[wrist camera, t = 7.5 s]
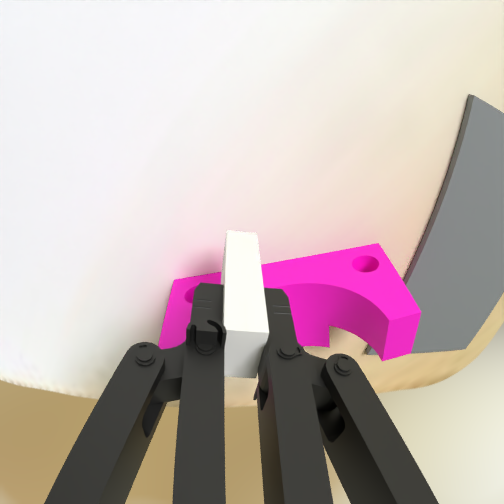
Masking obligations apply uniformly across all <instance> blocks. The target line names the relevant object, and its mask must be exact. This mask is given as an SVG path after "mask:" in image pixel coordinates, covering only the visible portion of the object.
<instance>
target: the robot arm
mask: <svg viewBox="0 0 504 504" xmlns="http://www.w3.org/2000/svg"><path fill="white" fill-rule="evenodd" d="M291 314H292V313H291V308H290V303H289V298H288V296H287V295H286V293H285V292H284V291H283V290H282V289H276V288H264V286H263V278H262V270H261V261H260V253H259V245H258V237H257V233H250V232H241V231H232V230H227V233H226V241H225V249H224V257H223V265H222V273H221V284H212V283H202V282H200V284H199V285H198V286H197V287H196V288H195V290H194V297H193V304H192V311H191V319H190V323H189V324H188V326H187V328H186V340H185V341H184V342H183V343H182V344H180V345H178V346H176V347H173V348H168V349H160V347H159V346H157V345H155V344H153V343H148V342H142V343H137V344H135V345H133V346H131V348H130V349H129V350H128V351H127V352H126V354H125V356H124V357H123V359H122V361H121V362H120V364H119V366H118V367H117V369H116V371H115V372H114V374H113V376H112V378H111V379H110V381H109V383H108V384H107V386H106V388H105V390H104V391H103V393H102V395H101V397H100V398H99V400H98V402H97V404H96V405H95V407H94V409H93V411H92V413H91V415H90V416H89V418H88V420H87V422H86V423H85V425H84V427H83V429H82V431H81V433H80V434H79V436H78V438H77V440H76V442H75V444H74V446H73V448H72V450H71V451H70V453H69V455H68V457H67V459H66V461H65V463H64V465H63V467H62V469H61V471H60V473H59V475H58V477H57V479H56V481H55V483H54V485H53V487H52V489H51V491H50V493H49V495H48V497H47V499H46V501H45V503H44V504H125V502H126V499H127V497H128V495H129V492H130V490H131V487H132V485H133V482H134V480H135V478H136V475H137V473H138V470H139V468H140V465H141V463H142V461H143V458H144V456H145V453H146V451H147V449H148V446H149V444H150V442H151V439H152V437H153V435H154V432H155V430H156V427H157V425H158V423H159V420H160V418H161V416H162V413H163V411H164V409H165V406H166V404H167V402H169V401H174V400H180V405H179V416H178V428H177V440H176V453H175V468H174V485H173V504H226V497H225V441H224V439H225V438H224V376H226V377H243V378H256V376H257V373H258V379H259V382H258V385H257V388H256V391H255V394H254V399H253V400H256V399H257V405H258V420H259V434H260V449H261V463H262V477H263V491H264V504H333V499H332V494H331V488H330V481H329V476H328V470H327V464H326V459H325V453H324V447H325V450H326V452H327V454H328V456H329V458H330V460H331V462H332V465H333V467H334V469H335V471H336V473H337V475H338V477H339V479H340V482H341V484H342V486H343V488H344V490H345V492H346V494H347V496H348V499H349V501H350V503H351V504H439V503H438V501H437V499H436V498H435V496H434V494H433V492H432V491H431V489H430V487H429V485H428V483H427V481H426V479H425V478H424V476H423V474H422V473H421V471H420V469H419V467H418V465H417V463H416V462H415V460H414V458H413V457H412V455H411V453H410V451H409V450H408V448H407V446H406V444H405V442H404V441H403V439H402V437H401V435H400V434H399V432H398V430H397V429H396V427H395V425H394V423H393V422H392V420H391V419H390V417H389V415H388V413H387V412H386V410H385V408H384V407H383V405H382V403H381V402H380V400H379V398H378V396H377V395H376V393H375V391H374V390H373V388H372V386H371V385H370V383H369V381H368V380H367V378H366V376H365V375H364V373H363V372H362V370H361V368H360V367H359V365H358V363H357V362H356V361H355V360H354V359H353V358H351V357H350V356H348V355H345V354H334V355H332V356H330V357H329V358H328V359H327V360H326V359H323V358H319V357H316V356H313V355H310V354H308V353H307V352H305V351H304V349H303V347H302V346H301V345H300V344H299V343H298V341H297V337H296V332H295V327H294V322H293V318H292V315H291ZM323 445H324V447H323Z"/></svg>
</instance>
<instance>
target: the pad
mask: <svg viewBox="0 0 504 504" xmlns="http://www.w3.org/2000/svg"><path fill="white" fill-rule="evenodd" d="M403 282H404V284H405V285H406V287H407V289H408V290H409V292H410V294H411V295H412V297H413V299H414V300H415V302H416V304H417V305H418V307H419V309H420V310H421V316H420V320H419V324H418V328H417V332H416V336H415V340H414V344H413V347H412V351H411V353H425V352H439V351H451V350H462V349H466V347H467V346H468V345H469V343H470V342H471V341H472V339H473V338H474V337H475V335H476V334H477V332H478V331H479V329H480V328H481V327H482V325H483V324H484V322H485V321H486V319H487V318H488V316H489V315H490V313H491V312H492V310H493V309H494V307H495V305H496V304H497V302H498V301H499V299H500V297H501V296H502V294H503V292H504V113H502V112H501V111H499V110H498V109H496V108H494V107H493V106H491V105H489V104H488V103H486V102H484V101H483V100H481V99H479V98H477V97H476V96H474V95H470V94H469V97H468V101H467V105H466V109H465V114H464V118H463V121H462V125H461V129H460V133H459V136H458V140H457V143H456V147H455V150H454V153H453V157H452V160H451V163H450V166H449V169H448V172H447V175H446V178H445V181H444V184H443V187H442V190H441V192H440V195H439V198H438V201H437V203H436V206H435V209H434V211H433V214H432V216H431V219H430V221H429V224H428V226H427V229H426V231H425V233H424V236H423V238H422V241H421V243H420V245H419V248H418V250H417V252H416V254H415V257H414V259H413V261H412V263H411V265H410V267H409V270H408V272H407V274H406V276H405V278H404V280H403ZM366 352H367V355H378V354H377V353H376V351H375V350H374V349H373V348H372V347H371V346H370V345H369V346H368V347H367V349H366Z"/></svg>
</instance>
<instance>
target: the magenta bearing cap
mask: <svg viewBox="0 0 504 504" xmlns="http://www.w3.org/2000/svg"><path fill="white" fill-rule="evenodd" d="M261 270H262V278H263V286H264V288H276V289H282V290H283V291H284V292H285V293H286V295H287V296H288V298H289V303H290V308H291V313H292V314H291V315H292V318H293V322H294V327H295V332H296V337H297V341H298V343H299V344H300V345H301V346H322V347H329V326H334V327H337V328H341V329H344V330H346V331H349V332H351V333H353V334H355V335H357V336H358V337H360V338H361V339H363V340H364V341H365V342H367V343H368V344H369V345H370V346H371V347H372V348H373V349H374V350H375V351H376V353H377V354H378V355H379V357H380V359H381V360H382V361H385V360H388V359H392V358H396V357H399V356H403V355H406V354H410V353H411V351H412V347H413V344H414V340H415V336H416V332H417V328H418V324H419V320H420V316H421V310H420V309H419V307H418V305H417V304H416V302H415V300H414V299H413V297H412V295H411V294H410V292H409V290H408V289H407V287H406V285H405V284H404V282H403V280H402V279H401V277H400V276H399V274H398V273H397V271H396V269H395V268H394V266H393V265H392V263H391V262H390V260H389V258H388V257H387V255H386V254H385V252H384V251H383V249H382V248H381V246H380V245H379V243H377V244H372V245H366V246H361V247H356V248H350V249H345V250H340V251H334V252H329V253H324V254H318V255H313V256H307V257H302V258H296V259H291V260H285V261H280V262H274V263H268V264H263V265H261ZM221 273H222V272H217V273H211V274H206V275H200V276H194V277H188V278H182V279H176V280H174V282H173V286H172V290H171V294H170V298H169V302H168V306H167V310H166V314H165V318H164V323H163V327H162V331H161V335H160V340H159V344H158V346H159V347H160V349H168V348H173V347H176V346H178V345H180V344H182V343H183V342H184V341H185V340H186V328H187V326H188V324H189V323H190V319H191V311H192V304H193V297H194V290H195V288H196V287H197V286H198V285H199V284H200V282H202V283H212V284H221ZM329 348H330V347H329Z"/></svg>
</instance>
